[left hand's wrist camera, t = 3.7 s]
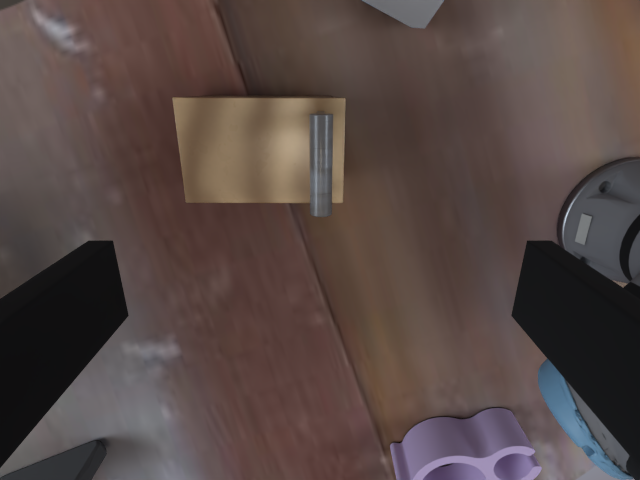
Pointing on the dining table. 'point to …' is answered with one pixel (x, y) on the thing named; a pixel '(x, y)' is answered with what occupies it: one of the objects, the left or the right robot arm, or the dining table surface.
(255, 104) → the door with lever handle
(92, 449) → the rounded dark grey slab
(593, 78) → the dining table surface
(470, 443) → the purple wavy organizer
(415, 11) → the electronic device
